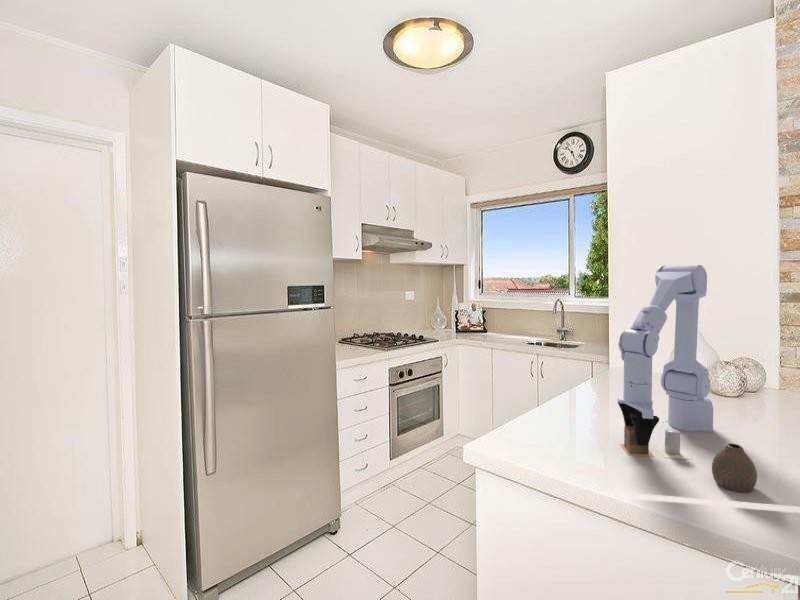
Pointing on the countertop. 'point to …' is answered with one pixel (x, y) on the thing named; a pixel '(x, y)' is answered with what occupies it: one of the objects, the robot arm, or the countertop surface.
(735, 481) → the vase
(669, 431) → the grey peg
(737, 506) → the countertop surface
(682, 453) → the mat
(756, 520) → the countertop surface
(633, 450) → the walnut block
